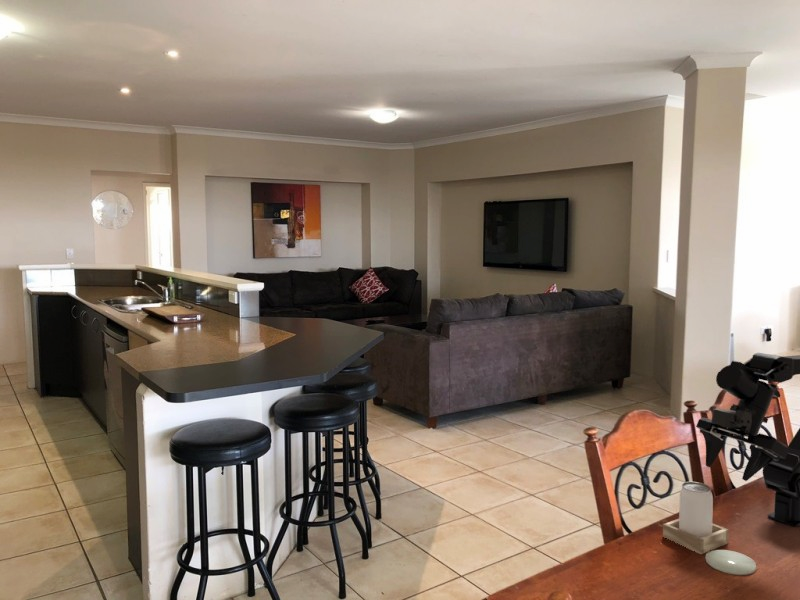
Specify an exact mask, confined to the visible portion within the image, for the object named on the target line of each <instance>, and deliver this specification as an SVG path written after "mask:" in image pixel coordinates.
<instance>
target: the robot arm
mask: <svg viewBox="0 0 800 600" xmlns="http://www.w3.org/2000/svg"><path fill="white" fill-rule="evenodd" d="M796 375H800V354H798V355H786V356H784V355H783V356H782V355H781V356H780V355H776V354H769V353H762V352H756V353H753V354H752V357H751V358H749V359H748V360H747V361H745V362H742V361H739V360H738V361H737V360H731V363H730V364H728V365H726V366H724V367H722V368H721V369H720V370H719V371H717V375H716V379H715V381H716V384H717V386H718V387H719V388H720V389H722V390H723V391H725V392H727V393H729V394H730V395H731V396H733V397H734V398H736V399H737V400H738V402H737V404H733V403H732V405H731V406H730V408H729V409H726V408H713V410H712V417H711V418H707V417H704V416H703V417H701V418H699V419H698V421H697V423H696V426H695V427H696V429H699V433H700V434H701V435H703V437H704V440H705V466H706V468H707V467H708V468H711V467H712V465H713V464H714V462H715V461H716V460H717V457H718V456H719V454H720V452H721V451H722V449H723V447H724V445H725V444H726V441H724V439H726V438H730V439H733V440H736V441H738V442H743V443H746V444H749V447H750V448H749V449H750V456H749V459H748V460H747V463H746V466H745V468H744V471H743V474H742V478H741V479H742V480H744V481H745V482H748V480H750V479H751V478H752V477H753V476H754V475H756V474H758V472H759V471H760V470H762V476H763V481H764V484H765V488H766V489H768V490H771V491H774V508H773V510H774V511H772V512H771V513H768V514H767V518H770V519H772V520H775V521H778V522H781V523H784V524H786V525H788V526H791V527H794V528H795V527H799V526H800V427H799V428H798V430H797V431H796V433H795V435H794V436H793V438H792V439H791V441H790V442H789V443H788V445H787V444H785V443H783V442H782V441H780V440H778V439H777V438H776V437H774V436H770V435H766V434H763V433H759V432H760V430H761V427H762V424H763V423H764V424H767V423H768V421H769V418H768V417H766V415H767V412H768V409H769V407H770V404H771V402H772V400H773V397H775V398H781V393H780V391H779V390H778V386H777V383H779V384H781V383H784V382H787V381H790V380H792V379H793V376H796ZM767 382H770V383H767ZM772 382H774V383H776V384H772Z"/></svg>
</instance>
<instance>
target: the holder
mask: <svg viewBox="0 0 800 600" xmlns="http://www.w3.org/2000/svg"><path fill="white" fill-rule="evenodd" d="M662 525H663V526H662V538H663V537H664V538H663V539H665V538H667V539H666V540H668V539H669V540H668V541H670V540H671V541H670V542H672V541H674V542H675V544H677V543H678V544H677V545H679V544H680V546H681V545H682V546H681V547H683V546H684V547H683V548H685V547H686V549H688V550H690V551H693V552H694V551H695V552H694V553H696V554H699V555H704V554H707V553H708V552H710V550H711V551H713V550H716V549H718V548H721V547H722V546H725V545H728V544H729V529H728V528H725V527H723V526H721V525H717V524H715V523H713V522H712V534H709V535H707V536H704V537H702V538H699V537H697V536H694V535H692V534H689V533H687V532H685V531H682V530H680V529H679V518H677V519H674V520H671V521H668V522H665V523H663V524H662ZM674 542H673V543H674Z"/></svg>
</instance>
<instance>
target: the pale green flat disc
mask: <svg viewBox="0 0 800 600" xmlns="http://www.w3.org/2000/svg"><path fill="white" fill-rule="evenodd" d="M705 561H706V563H707V565H708V566H710V567H711V568H713V569H715V570H716V571H719V572H722V573H725V574H729V575H735V576H737V575H738V576H747V575H750V574H753V573H755V572H756V571H757V563H756V562H755V560H754V559H752V558H751V557H749V556H748V555H746V554H743V553H741V552H737V551H734V550H729V549H728V550H726V549H713V550H711V551H708V552H706V553H705Z"/></svg>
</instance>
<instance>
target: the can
mask: <svg viewBox="0 0 800 600" xmlns="http://www.w3.org/2000/svg"><path fill="white" fill-rule="evenodd" d="M711 490H712V488H711V486H710V485H708V484H705V483H702V482H697V481H686V482H683V483H682V484H681V488H680V490H679V509H678V511H679V512H678V513H679V514H678V515H679V516H678V519H679V529H680V530H682V531H685V532H687V533H689V534H692V535H694V536H697V537H699V538H702V537H704V536H707V535H709V534H712V523H713V510H714V508H713V506H714V505H713V503H714V498H713V493H712V491H711Z"/></svg>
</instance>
